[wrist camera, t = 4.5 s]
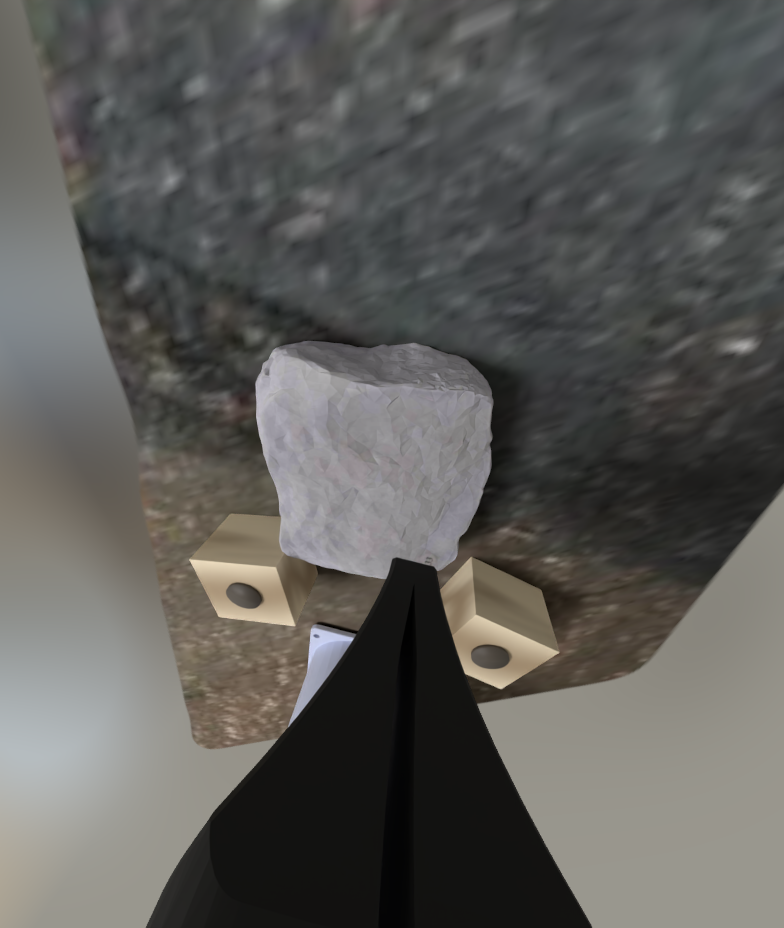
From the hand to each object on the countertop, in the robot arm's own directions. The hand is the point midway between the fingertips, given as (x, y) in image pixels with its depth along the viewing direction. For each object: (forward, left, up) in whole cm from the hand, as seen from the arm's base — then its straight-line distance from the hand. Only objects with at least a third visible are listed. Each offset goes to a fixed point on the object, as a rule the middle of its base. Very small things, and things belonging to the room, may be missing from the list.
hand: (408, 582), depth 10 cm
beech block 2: (-8, -6, -8) cm, 13 cm away
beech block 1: (-9, +8, -8) cm, 14 cm away
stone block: (0, +2, -8) cm, 8 cm away
